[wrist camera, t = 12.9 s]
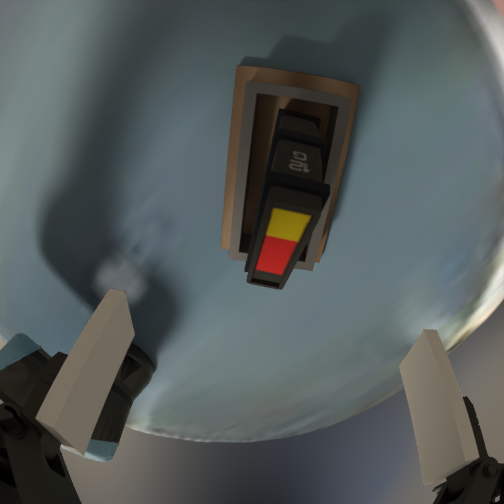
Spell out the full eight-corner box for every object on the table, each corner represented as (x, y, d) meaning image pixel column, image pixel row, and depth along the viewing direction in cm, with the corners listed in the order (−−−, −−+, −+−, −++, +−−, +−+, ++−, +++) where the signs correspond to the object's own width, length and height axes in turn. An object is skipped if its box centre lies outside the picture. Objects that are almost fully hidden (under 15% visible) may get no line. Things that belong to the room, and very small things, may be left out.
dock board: (222, 244, 37) (220, 248, 36) (238, 65, 25) (237, 65, 25) (318, 258, 37) (319, 262, 36) (357, 85, 25) (360, 85, 24)
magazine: (326, 87, 24) (330, 209, 16) (294, 182, 35) (280, 299, 27) (285, 77, 23) (262, 193, 16) (263, 175, 35) (239, 291, 27)
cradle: (233, 239, 35) (228, 258, 32) (250, 80, 25) (246, 80, 22) (310, 250, 35) (312, 270, 32) (343, 95, 25) (351, 98, 22)
